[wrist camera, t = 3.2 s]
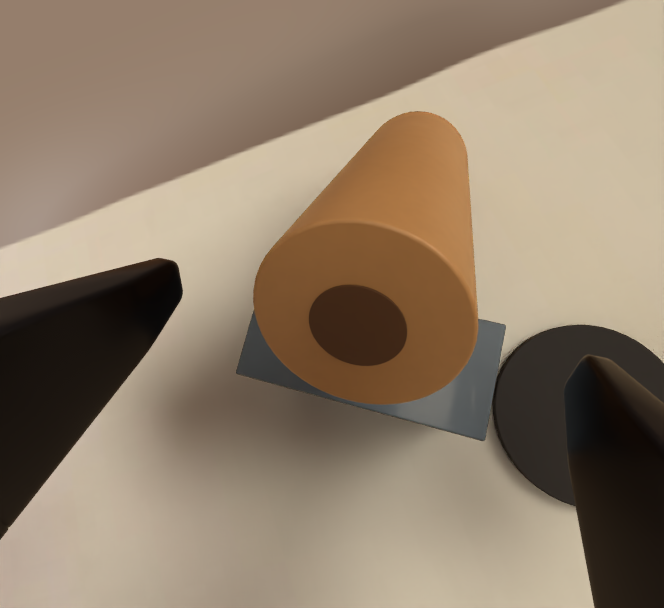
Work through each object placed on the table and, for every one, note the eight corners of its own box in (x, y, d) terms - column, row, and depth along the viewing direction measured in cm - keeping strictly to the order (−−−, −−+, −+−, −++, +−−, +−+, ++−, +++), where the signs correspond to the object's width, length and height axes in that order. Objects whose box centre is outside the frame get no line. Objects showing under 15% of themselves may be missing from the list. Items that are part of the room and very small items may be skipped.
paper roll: (414, 399, 18) (477, 457, 6) (316, 373, 19) (192, 377, 7) (464, 162, 20) (596, -175, 8) (372, 148, 21) (356, -175, 8)
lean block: (454, 420, 18) (485, 442, 12) (276, 373, 19) (234, 373, 14) (470, 338, 18) (506, 324, 13) (296, 299, 20) (263, 271, 14)
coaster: (582, 547, 16) (587, 551, 16) (456, 395, 18) (458, 396, 18) (726, 431, 16) (735, 433, 16) (586, 292, 18) (591, 290, 18)
